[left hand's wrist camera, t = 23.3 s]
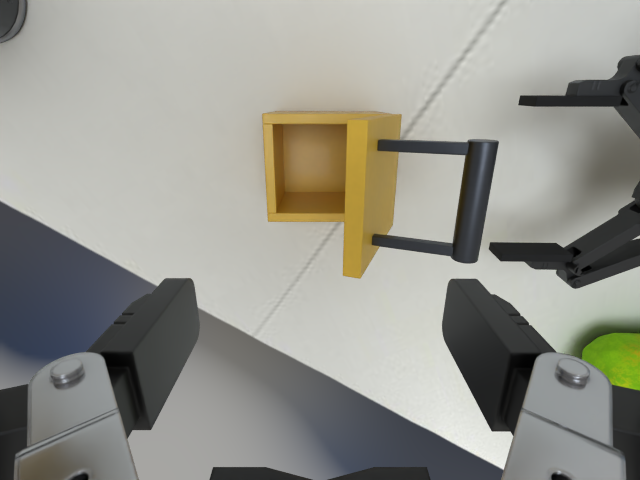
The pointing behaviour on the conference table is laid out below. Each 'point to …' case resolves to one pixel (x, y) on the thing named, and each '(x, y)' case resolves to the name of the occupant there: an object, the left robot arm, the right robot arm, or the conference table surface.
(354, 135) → the lid
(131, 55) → the conference table surface
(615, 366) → the decorative tree
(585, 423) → the left robot arm
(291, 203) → the chest
